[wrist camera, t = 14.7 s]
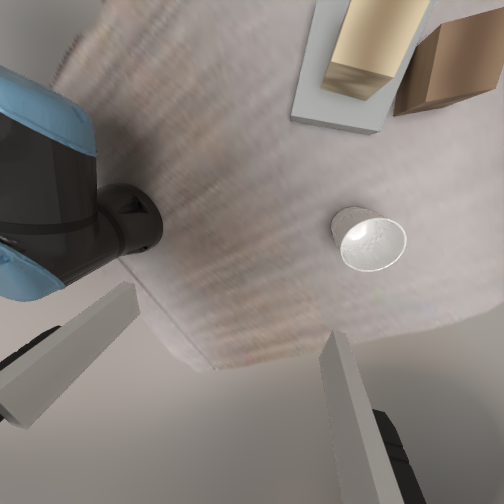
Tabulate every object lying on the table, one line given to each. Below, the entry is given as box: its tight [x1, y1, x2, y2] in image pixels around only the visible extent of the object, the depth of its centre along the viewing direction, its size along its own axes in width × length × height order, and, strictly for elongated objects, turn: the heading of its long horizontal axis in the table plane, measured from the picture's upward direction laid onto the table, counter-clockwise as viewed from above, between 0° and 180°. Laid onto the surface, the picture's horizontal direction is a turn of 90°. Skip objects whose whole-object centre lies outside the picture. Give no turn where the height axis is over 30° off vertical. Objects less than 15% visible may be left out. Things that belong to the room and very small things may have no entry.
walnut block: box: [393, 7, 504, 117], centre depth 21 cm, size 6×6×7 cm
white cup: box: [331, 206, 407, 272], centre depth 29 cm, size 8×8×10 cm
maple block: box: [320, 0, 430, 101], centre depth 19 cm, size 6×6×7 cm
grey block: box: [291, 0, 436, 135], centre depth 24 cm, size 12×12×4 cm
